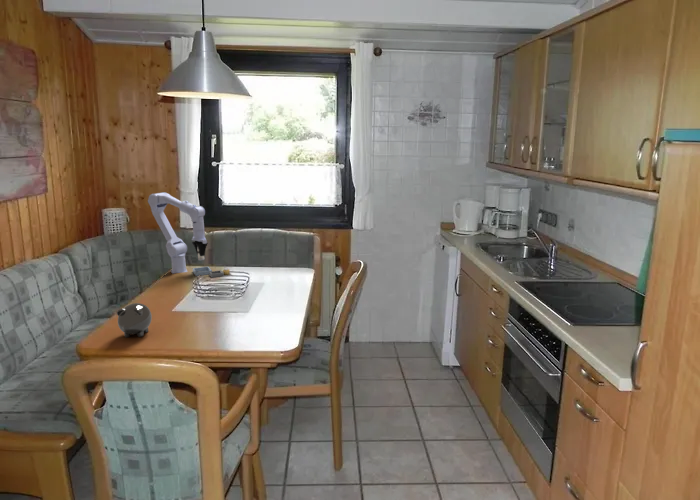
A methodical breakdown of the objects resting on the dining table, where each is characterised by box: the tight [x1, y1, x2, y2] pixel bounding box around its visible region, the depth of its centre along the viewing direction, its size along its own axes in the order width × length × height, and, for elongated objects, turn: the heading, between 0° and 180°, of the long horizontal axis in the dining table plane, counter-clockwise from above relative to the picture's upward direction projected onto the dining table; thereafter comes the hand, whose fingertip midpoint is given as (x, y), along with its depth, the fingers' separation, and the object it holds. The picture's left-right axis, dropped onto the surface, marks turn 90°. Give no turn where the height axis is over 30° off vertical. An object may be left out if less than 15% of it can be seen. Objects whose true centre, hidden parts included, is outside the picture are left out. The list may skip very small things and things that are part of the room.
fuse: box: [196, 247, 205, 261], centre depth 281 cm, size 3×3×7 cm
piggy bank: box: [116, 302, 153, 338], centre depth 195 cm, size 11×15×12 cm
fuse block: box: [209, 268, 233, 279], centre depth 277 cm, size 8×10×3 cm
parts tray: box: [192, 266, 213, 277], centre depth 283 cm, size 10×8×2 cm
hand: (200, 255), depth 282 cm, fingers closed on fuse, 3 cm apart
